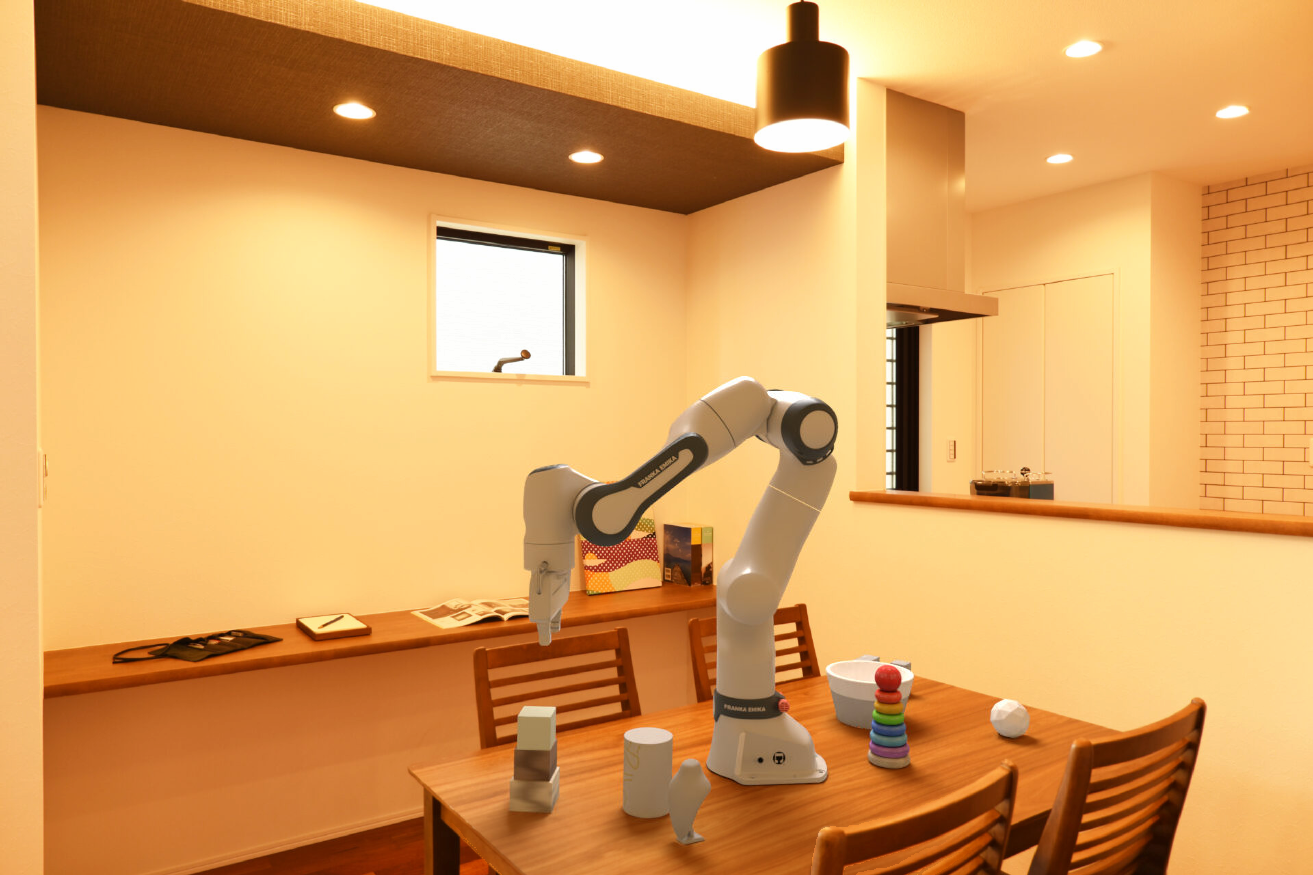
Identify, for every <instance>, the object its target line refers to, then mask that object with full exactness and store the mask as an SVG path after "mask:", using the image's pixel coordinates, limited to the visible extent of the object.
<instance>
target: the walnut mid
mask: <svg viewBox="0 0 1313 875" xmlns="http://www.w3.org/2000/svg"><path fill="white" fill-rule="evenodd" d="M513 751H514V752H513V775H514V780H527V781H546V782H550V780H551V778H552V776H553V774H554V772H555V770H556V768H557V767H558V766H557V765H558V738H555V741H554V743H553V746H552V748H551V750H550V751H546V750H517V745H516V746H515V748H514V750H513Z"/></svg>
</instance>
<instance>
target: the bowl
mask: <svg viewBox="0 0 1313 875" xmlns="http://www.w3.org/2000/svg"><path fill="white" fill-rule="evenodd" d="M883 665H891V666H894V667H896V668H897V669H898V670H899V672H900V673H901V676H902V682H901V685H900V687H899V688H898V689H897V690H898V691H900V692H901V694H902V699H901V700H900V702H902V704H903V706H904V709H903V711H902V713H903V714H904V715H905V712H906V708H907V704H908V700H909V697H910V695H911V694H910V691H912V687H913V682H914V680H915V679H914V678H915V674H914V673H913V671H912V670H911V671H910V670H908V669H906V668H903V667H900V666H897V665H893V664H890V663H887V662H882V661H881V662H875V661H853V660H842V661H837V662H833V663H830V664H828V665H827V666H826V668H825V672H826V677H827V681H828V685H829V689H830V694H831V697H832V701H833V707H834V710H835V711H834V712H835V716H836V719H837V720H838V721H839V722H840V723H843V724H844V723H845V724H844V725H847V726H850V725H851V727H853V726H854V727H855V728H857V727H860V728H859V729H863V728H866V729H865V730H872V726H871V724H872V721H873V720H874V719H873V716H872V714H873V711H874V710H875V708H874V703H875V701H876V700H877V699H876V698H875V692H876V690H877V689H880V688H879V687H878V686H877V684H876V682H875V673H876V671H877V669H878V668H879V667H881V666H883Z"/></svg>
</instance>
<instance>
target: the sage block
mask: <svg viewBox="0 0 1313 875" xmlns="http://www.w3.org/2000/svg"><path fill="white" fill-rule="evenodd" d="M556 719H557V707H556V706H534V705H533V706H531V705H524V706H523V707H522V709H521V710H520V712H519V713H518V715H517V727H516V728H517V729H516V730H517V731H516V732H517V733H516V735H517V738H516V739H517V740H516V744H517V745H516V746H517V750H546V751H550V750H551V748H552V746H553V743H554V741H555V739H556V737H557V736H556V731H557V730H556V728H557V727H556V726H557V724H556V723H557V720H556Z"/></svg>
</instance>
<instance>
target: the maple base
mask: <svg viewBox="0 0 1313 875" xmlns="http://www.w3.org/2000/svg"><path fill="white" fill-rule="evenodd" d="M560 778H561V777H560V766H557V768H556V770H555V772H554V774H553V776H552V778H551V780H550V782H546V781H527V780H514V774H513V775H512V777H511V778H510V780H509V801H508V802H509V804H508V805H509V812H524V813H526V812H527V813H543V814H544V813H545V814H546V813H547V814H552V813H553V810H554V808H555V806H556V804H557V801H558V798H559V797H560Z"/></svg>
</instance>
